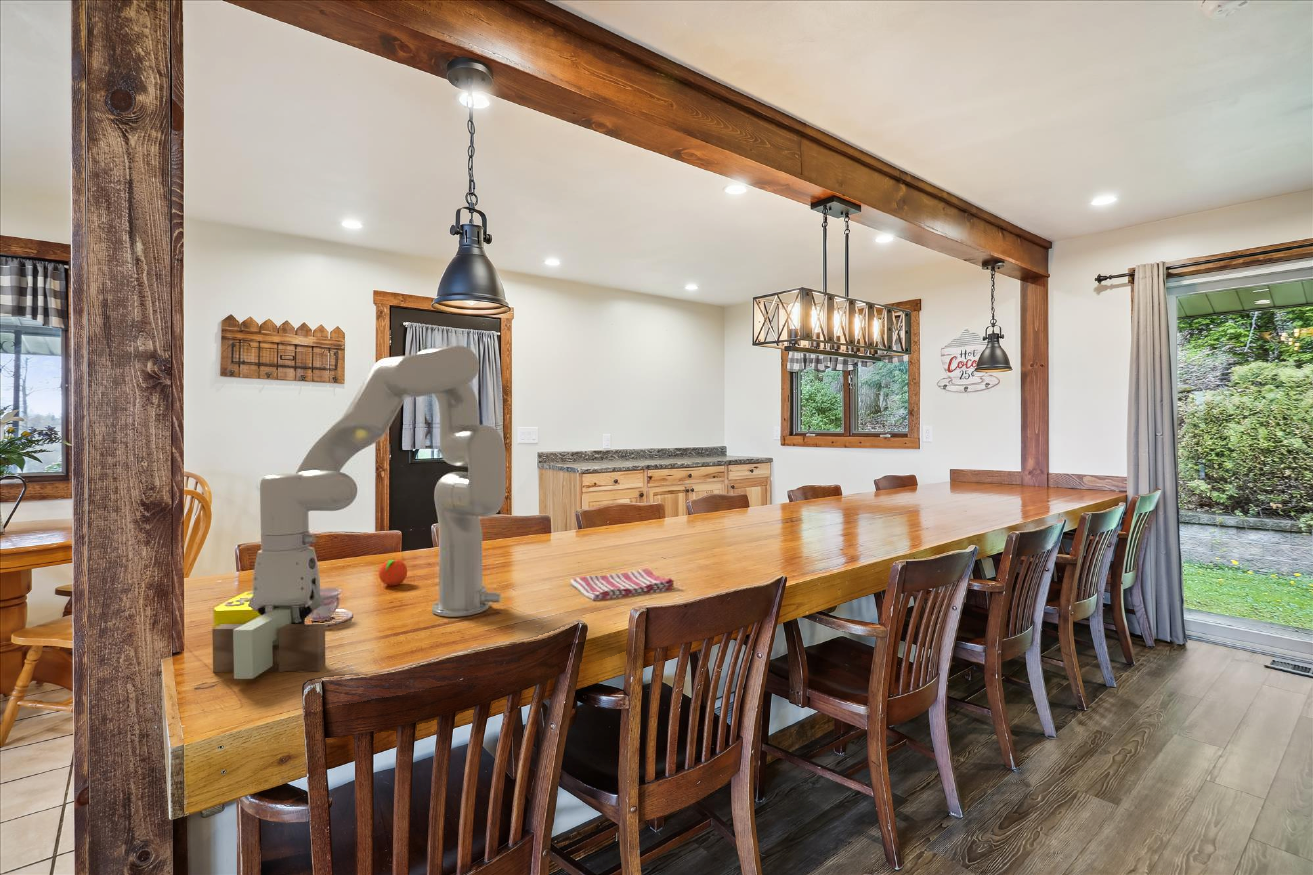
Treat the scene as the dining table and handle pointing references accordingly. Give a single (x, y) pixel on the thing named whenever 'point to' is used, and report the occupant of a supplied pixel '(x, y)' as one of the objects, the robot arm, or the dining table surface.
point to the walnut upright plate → (276, 648)
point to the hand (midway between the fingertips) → (286, 641)
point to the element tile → (235, 611)
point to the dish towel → (621, 584)
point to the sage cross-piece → (258, 642)
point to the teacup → (329, 607)
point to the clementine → (393, 572)
